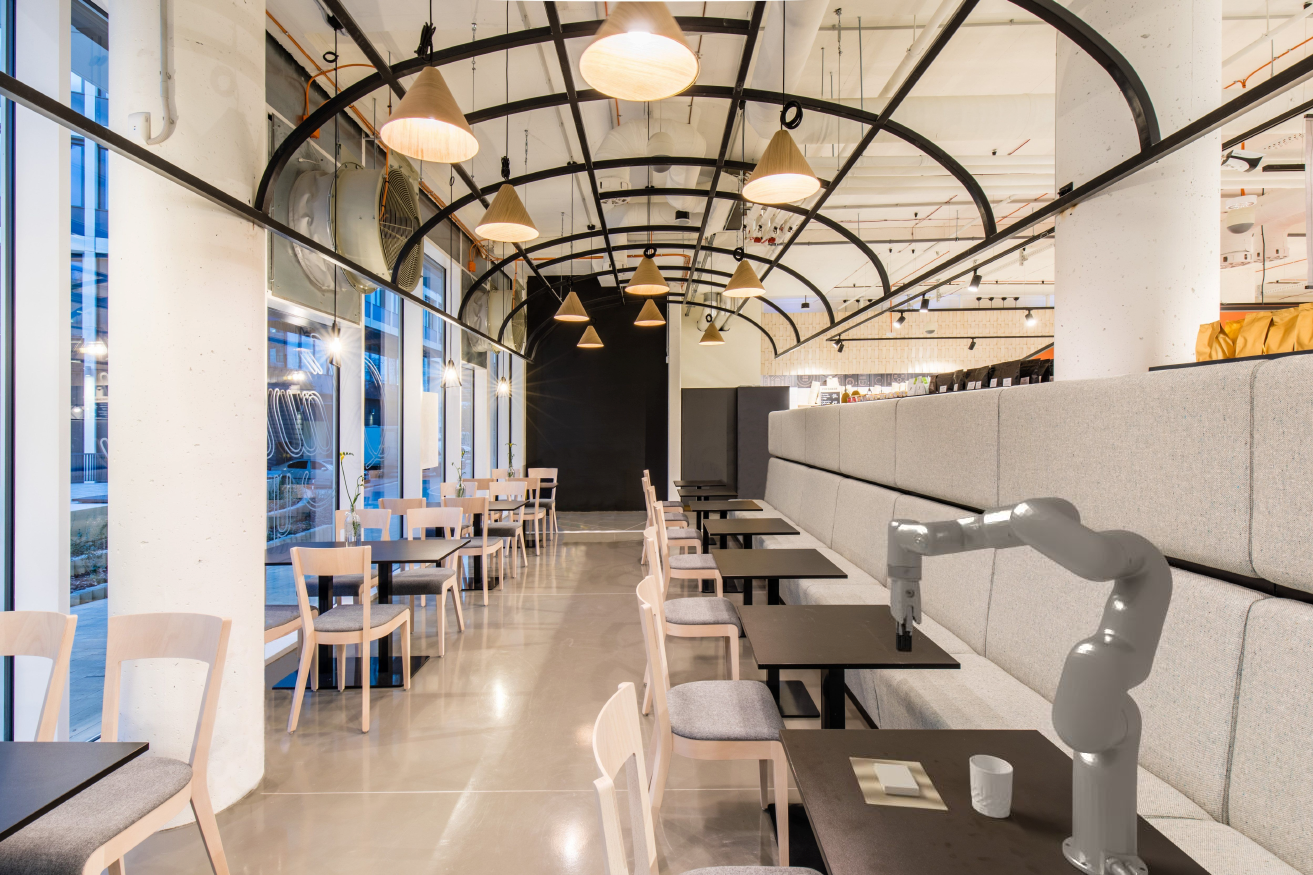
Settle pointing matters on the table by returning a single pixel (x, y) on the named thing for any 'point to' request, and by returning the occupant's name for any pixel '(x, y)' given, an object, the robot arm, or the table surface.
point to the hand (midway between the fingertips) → (903, 650)
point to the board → (877, 796)
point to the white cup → (991, 785)
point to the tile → (896, 780)
